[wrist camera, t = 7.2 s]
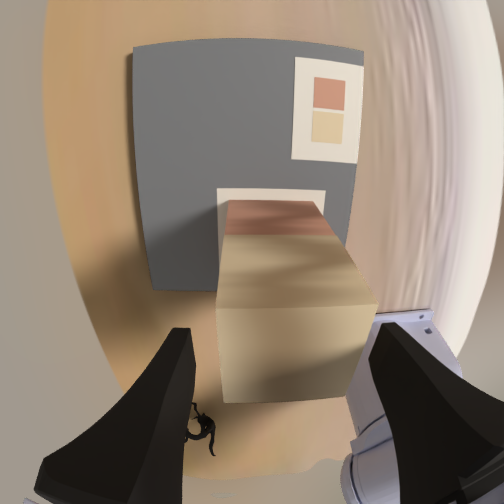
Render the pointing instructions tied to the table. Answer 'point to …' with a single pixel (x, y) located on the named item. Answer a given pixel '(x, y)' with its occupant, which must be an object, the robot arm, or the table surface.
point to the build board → (238, 141)
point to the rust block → (275, 218)
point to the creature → (203, 429)
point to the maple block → (289, 318)
